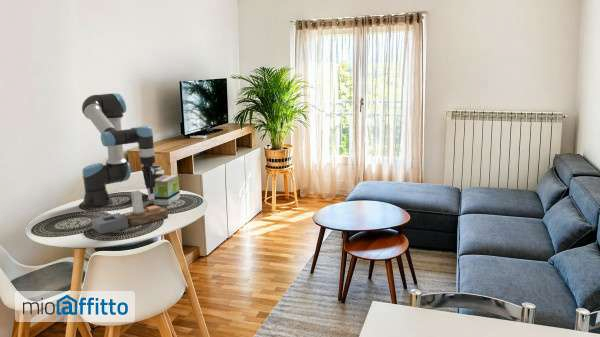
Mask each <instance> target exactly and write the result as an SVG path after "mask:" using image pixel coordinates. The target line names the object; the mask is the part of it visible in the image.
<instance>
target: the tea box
mask: <svg viewBox="0 0 600 337" xmlns="http://www.w3.org/2000/svg"><path fill="white" fill-rule="evenodd" d="M179 180H180V179H179V175H173V174H172V175H167V174H164V175H163V176H161V177H159V178H157V179H155V187H153V189H154V199H153V206H154V205H156V206H170V205H171V204H172V203H174V202H177V201H178V200H180V199H181V192H180V191H181V190H180V181H179ZM179 198H180V199H179Z"/></svg>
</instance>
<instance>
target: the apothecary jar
mask: <svg viewBox="0 0 600 337" xmlns="http://www.w3.org/2000/svg"><path fill="white" fill-rule="evenodd" d="M153 170H155V171H156V173H155V179H157V178H159V177H161V176H163V175H165V170H164V169H162V166H161V165H159V164H158V165H156V164H155V165H153ZM145 188H146V189H147V185H145Z"/></svg>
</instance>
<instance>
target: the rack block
mask: <svg viewBox="0 0 600 337" xmlns="http://www.w3.org/2000/svg"><path fill="white" fill-rule="evenodd" d="M122 214H123V213H122ZM122 214H121V213H120V212H116V213H113V214H109V215H103V216H99V217H95V218H91V226H92V227H91V228H92V229H93V230H94V231H95V232H96V233H98V234H99V235H103V234H108V233H111V232H115V231H119V230H120V231H121V230H124V229H128V228H129V225H128V219H127V217H125V216H123V215H122Z"/></svg>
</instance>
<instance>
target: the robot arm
mask: <svg viewBox="0 0 600 337" xmlns="http://www.w3.org/2000/svg"><path fill="white" fill-rule="evenodd" d="M81 111H82V114H83V115H84V117H85V118H86V119H88V120H90V121H91V123H92V124H93V125H94V127H95V128H96V130H98V132H99V134H100V141H101V144H102V146H103V147H107V156H108V158H107V160H106V161H105V165H104V164H103V163H101V162H98V163H92V164H89V165H86V166H85V167H83V169H82V178H83V184H84V196H83V200H82V201H83V206H84V207H89V208H91V207H92V208H94V207H101V206H106V205H108V204H110V203H111V202H112V201H111V200H112V199H111V197H110V194H109V192H108V191H107V185H111V184H117V183H122V182H126V181H128V180H130V178H131V172H132V170H131V169H132V168H131V164H130V163H129V161H127V159H126V158H125V156H124V148H123V147H124V146H123V145H129V144H130V145H131V144H137V145H138V153H139V154H138V155H139V163H140V164H141V165H143V166H142V167H141V171H142V176H143V180H144V185H145V186H146V185H147V188H146V191H147V199H148V201H149V200H150V201H151V200H154V189H153V187H155V173H156V171H155V170H153V166H154V165H153V164H155V163H156V157H155V153H156V152H155V145H154V133H153V127H152V126H150V125H142V126H137V127H131V128H130V129H122V119H123V117H124V114H125V113H126V112H127V104H126V101H125V98H124V97H123V95H121V93H103V94H92V95H90V96H88V97H86V98H85V99H84V101H83V102H82V105H81Z"/></svg>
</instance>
